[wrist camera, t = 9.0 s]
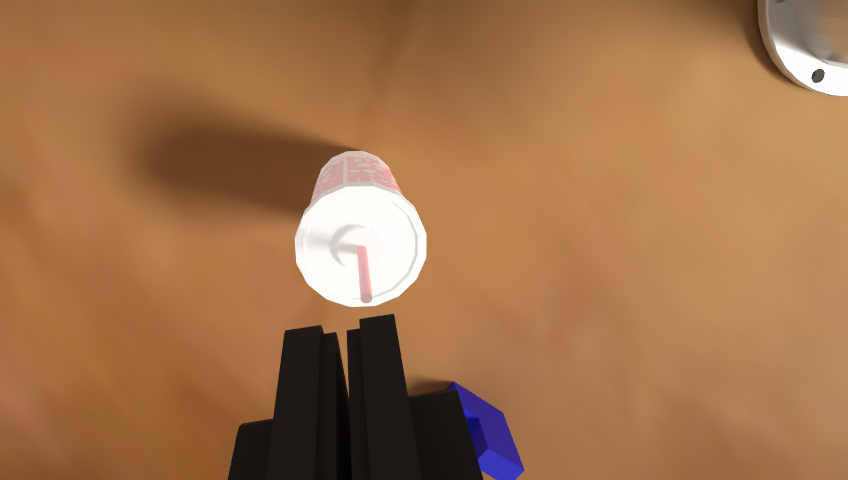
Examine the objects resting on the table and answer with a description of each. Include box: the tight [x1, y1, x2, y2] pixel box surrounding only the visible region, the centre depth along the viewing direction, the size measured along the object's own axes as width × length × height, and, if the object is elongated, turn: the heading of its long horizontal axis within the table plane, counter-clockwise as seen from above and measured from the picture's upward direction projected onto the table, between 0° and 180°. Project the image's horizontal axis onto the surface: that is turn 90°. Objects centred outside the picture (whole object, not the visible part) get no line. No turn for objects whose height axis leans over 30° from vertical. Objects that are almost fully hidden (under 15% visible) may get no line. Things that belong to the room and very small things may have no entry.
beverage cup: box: [295, 151, 426, 307], centre depth 33 cm, size 6×6×14 cm
